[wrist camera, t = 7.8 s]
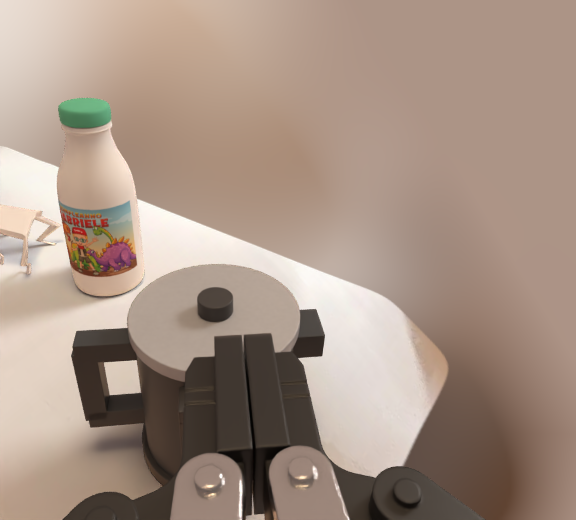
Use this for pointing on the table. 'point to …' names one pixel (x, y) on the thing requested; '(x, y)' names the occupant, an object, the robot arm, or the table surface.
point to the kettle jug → (183, 347)
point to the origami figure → (23, 228)
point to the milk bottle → (98, 202)
